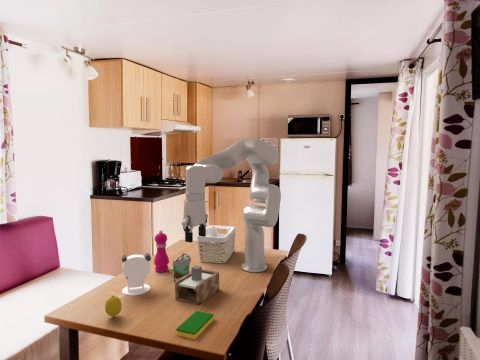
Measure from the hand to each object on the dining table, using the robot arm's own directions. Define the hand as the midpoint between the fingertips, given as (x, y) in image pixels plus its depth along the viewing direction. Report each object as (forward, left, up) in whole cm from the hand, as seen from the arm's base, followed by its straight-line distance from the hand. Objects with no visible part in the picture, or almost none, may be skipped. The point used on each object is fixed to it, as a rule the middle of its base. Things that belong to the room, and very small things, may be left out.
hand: (195, 239), depth 140 cm
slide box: (-1, 0, -24) cm, 24 cm away
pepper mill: (-17, -31, -24) cm, 43 cm away
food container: (-13, -15, -24) cm, 31 cm away
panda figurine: (+6, -26, -24) cm, 36 cm away
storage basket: (-47, -17, -24) cm, 55 cm away
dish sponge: (+21, +13, -24) cm, 35 cm away
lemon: (+28, -17, -24) cm, 40 cm away
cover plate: (0, 0, -18) cm, 18 cm away
